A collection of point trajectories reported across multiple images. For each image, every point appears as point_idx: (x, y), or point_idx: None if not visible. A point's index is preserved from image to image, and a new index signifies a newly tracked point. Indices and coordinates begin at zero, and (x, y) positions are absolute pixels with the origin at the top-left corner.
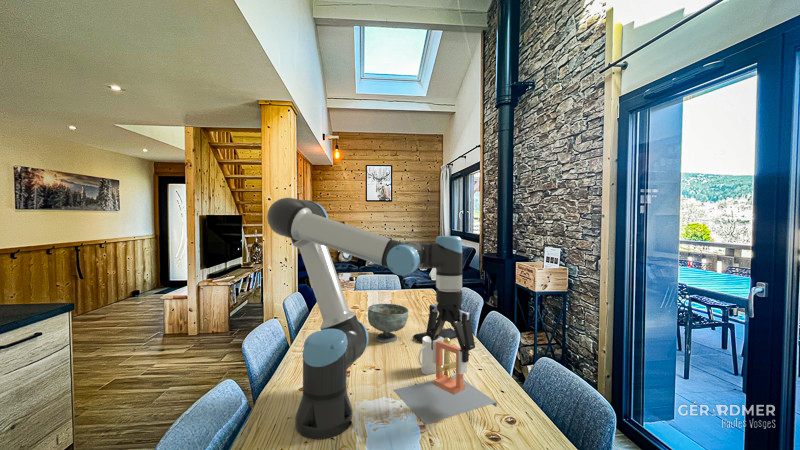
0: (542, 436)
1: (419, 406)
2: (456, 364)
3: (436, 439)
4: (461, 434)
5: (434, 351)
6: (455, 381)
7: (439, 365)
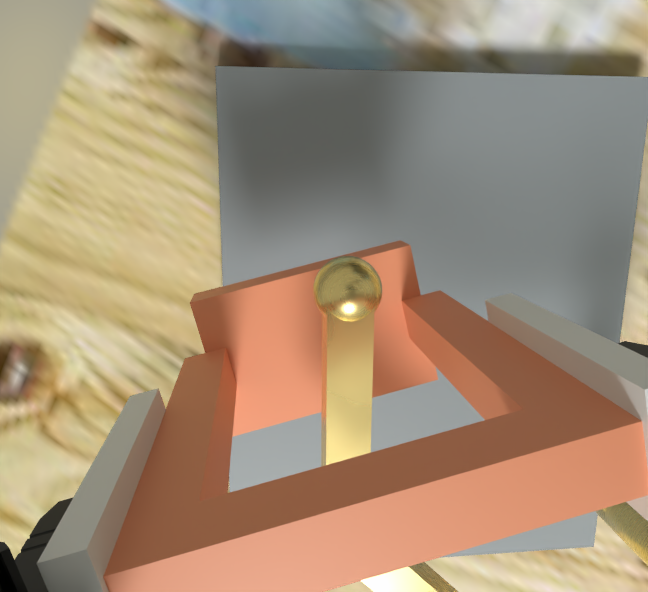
0: None
1: (398, 135)
2: (202, 430)
3: (107, 73)
4: (92, 231)
5: (551, 336)
6: (302, 393)
7: (361, 285)
